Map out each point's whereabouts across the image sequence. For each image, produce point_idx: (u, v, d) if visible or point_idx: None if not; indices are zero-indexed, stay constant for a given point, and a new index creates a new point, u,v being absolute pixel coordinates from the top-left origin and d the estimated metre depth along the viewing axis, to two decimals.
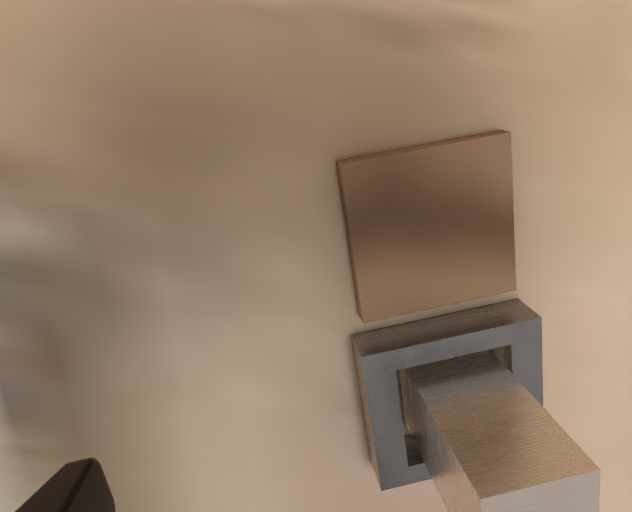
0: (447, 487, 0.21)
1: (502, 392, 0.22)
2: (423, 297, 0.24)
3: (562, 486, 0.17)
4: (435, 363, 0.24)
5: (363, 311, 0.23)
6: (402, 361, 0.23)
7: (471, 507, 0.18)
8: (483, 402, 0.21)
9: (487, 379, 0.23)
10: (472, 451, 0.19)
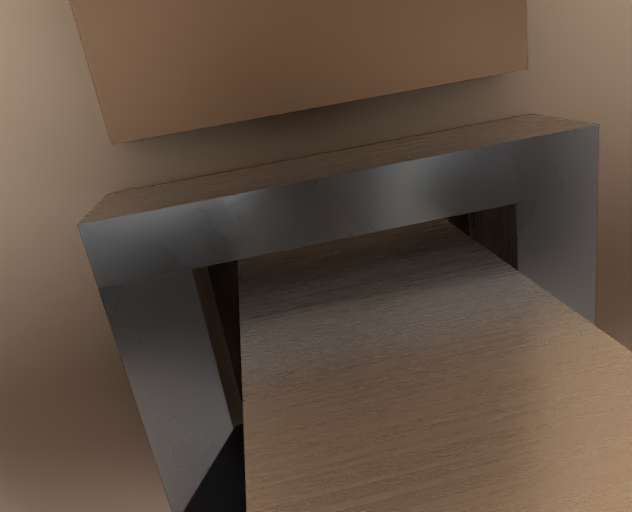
0: None
1: (487, 315, 0.07)
2: (275, 74, 0.09)
3: None
4: (318, 262, 0.09)
5: (106, 107, 0.08)
6: (207, 242, 0.08)
7: None
8: (425, 345, 0.06)
9: (446, 287, 0.08)
10: None
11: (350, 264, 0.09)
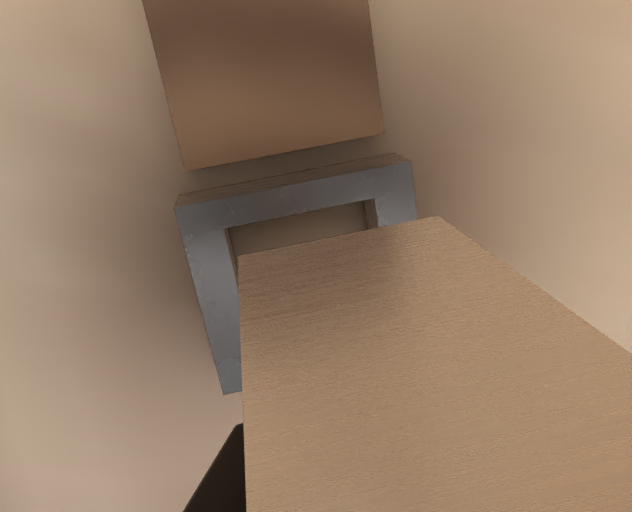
0: None
1: (486, 316, 0.07)
2: (261, 138, 0.18)
3: None
4: (317, 264, 0.09)
5: (183, 154, 0.18)
6: (230, 216, 0.18)
7: None
8: (425, 348, 0.06)
9: (446, 289, 0.08)
10: None
11: (350, 265, 0.09)
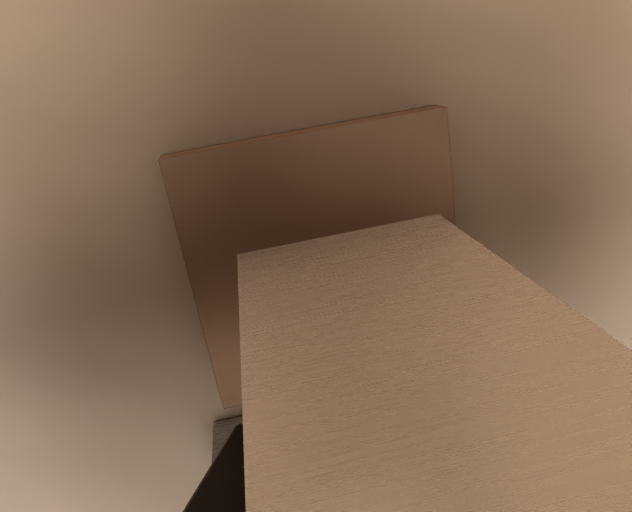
0: None
1: (487, 315, 0.07)
2: None
3: None
4: (317, 262, 0.09)
5: (222, 391, 0.15)
6: None
7: None
8: (425, 346, 0.06)
9: (446, 287, 0.08)
10: None
11: (350, 264, 0.09)
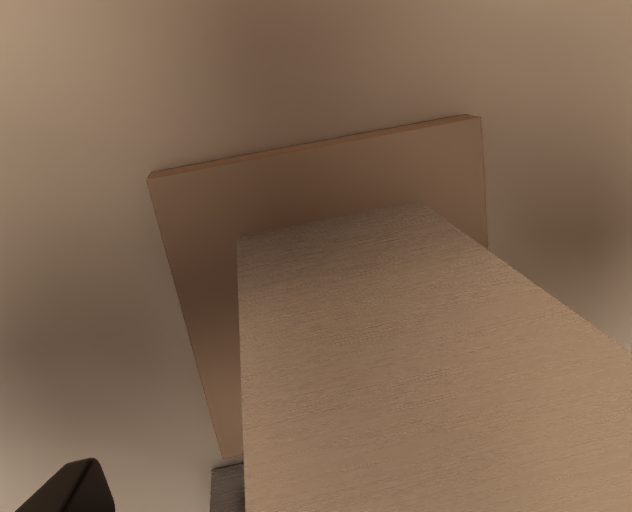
0: None
1: (450, 281, 0.08)
2: None
3: None
4: (308, 243, 0.10)
5: (221, 439, 0.13)
6: None
7: None
8: (395, 305, 0.07)
9: (418, 261, 0.09)
10: (311, 447, 0.05)
11: (336, 243, 0.10)
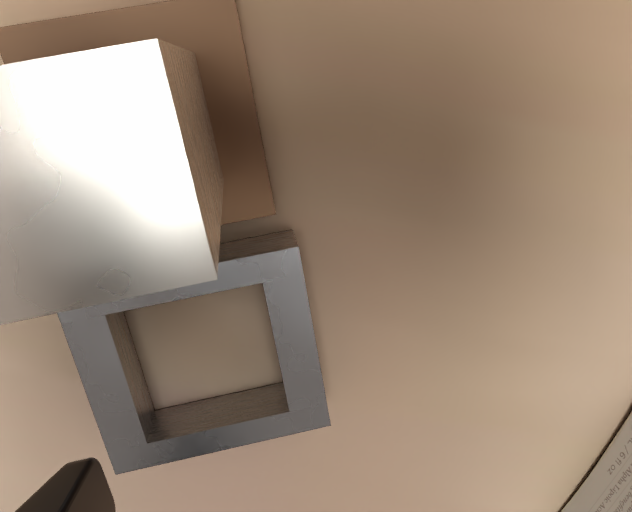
0: None
1: None
2: None
3: (77, 72, 0.08)
4: None
5: None
6: (111, 302, 0.18)
7: None
8: None
9: None
10: None
11: None
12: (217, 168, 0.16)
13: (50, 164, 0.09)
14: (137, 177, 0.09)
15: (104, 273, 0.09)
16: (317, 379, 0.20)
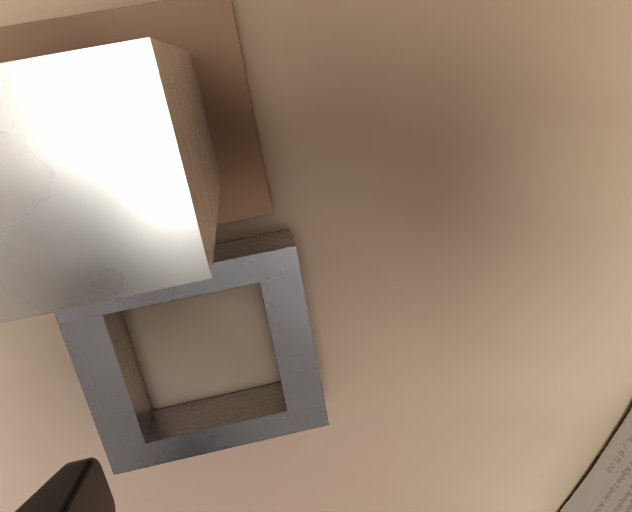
0: None
1: None
2: None
3: (70, 72, 0.08)
4: None
5: None
6: (109, 302, 0.18)
7: None
8: None
9: None
10: None
11: None
12: (213, 168, 0.16)
13: (44, 163, 0.09)
14: (131, 176, 0.09)
15: (98, 272, 0.09)
16: (315, 378, 0.20)
